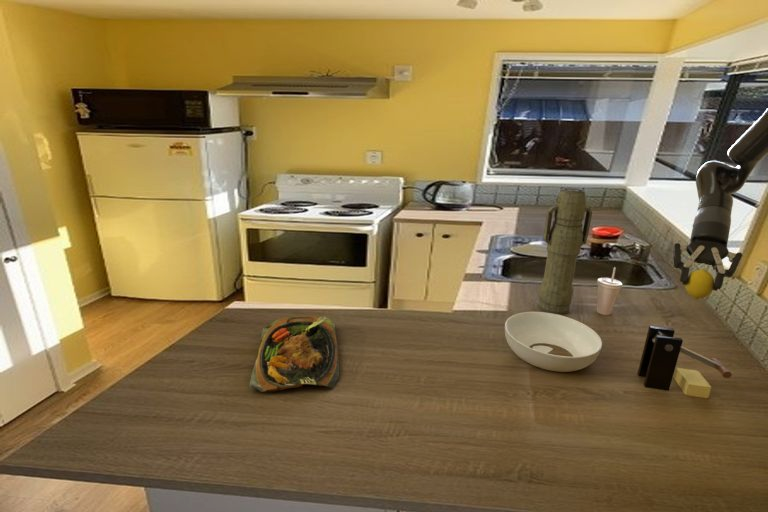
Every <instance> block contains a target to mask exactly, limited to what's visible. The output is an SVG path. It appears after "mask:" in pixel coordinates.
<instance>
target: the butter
mask: <svg viewBox="0 0 768 512" xmlns="http://www.w3.org/2000/svg"><path fill="white" fill-rule="evenodd" d="M673 379H674V381H675V383H676V384H677V385H678V387H679V388H680V389H681V391H682V392H683V393H684V395H686V396H691V397H697V398H703V399H709V396H710V393H711V391H712V385H710V384H709V382H708V380H706V378H704V376H703V375H702V374H701V372H700V371H699V370H697V369H690V368H682V367H675V371H674V374H673Z"/></svg>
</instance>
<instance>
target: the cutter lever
mask: <svg viewBox="0 0 768 512" xmlns="http://www.w3.org/2000/svg"><path fill="white" fill-rule="evenodd" d="M656 335H660V336H667V337H671V336H669V335H667V334H665V333H663V332H660V331H658V332H657V333H656ZM656 335H655V336H654V337H653V339H652V341H653V342H655V338H656ZM680 353H681V354H684V355H685V356H687V357H690V358H692V359H694V360H695V361H698V362H701V363H703V364H704V365H706V366H709V367H711V368H713V369H715V370H716V371H718V373H720V374H721V376H722V377H723V378H725V379H730V378H731V377H732V372H731V371H730V370H729V369H728V368H727V367H726V366H725V364H723V363H722V361H720V359H719V358H716V357H715V358H712V359H710V358H709V357H706V356H704V355H701V354H699V353H698V352H695V351H693V350H691V349H689V348H687V347H684V346H683V345H682V346H681V349H680Z"/></svg>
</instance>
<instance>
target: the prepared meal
mask: <svg viewBox="0 0 768 512" xmlns="http://www.w3.org/2000/svg"><path fill="white" fill-rule="evenodd" d="M260 336H261V337H260V341H259V346H258V349H257V355H256V358H255V362H254V365H253V368H252V372H251V376H250V379H249V384H248V389H256V390H258V391H259V392H260V393H271V392H272V393H274V392H280V391H283V390H286V389H293V388H300V387H302V386H303V385H313V386H321V387H322V386H323V387H327V388H330V389H333V388H334V386H335V384H336V383H337V381H338V380H339V377H340V361H339V349H338V340H337V331H336V325H335V322H333V321H331V319H330V318H329V317H327V316H297V317H296V316H295V317H293V316H291V317H280V318H278V319H276V320H274V321H272V322H270V323H269V324H268V325H267V326H266V327H265V328H264V327H263V328H262V331H261V335H260Z"/></svg>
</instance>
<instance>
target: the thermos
mask: <svg viewBox="0 0 768 512" xmlns="http://www.w3.org/2000/svg"><path fill="white" fill-rule="evenodd" d="M587 201H588V200H587V196H586V192H585V191H584V190H582V189H580V188H579V189H578V188H568V187H567V188H563V189H561V190H560V192H559V194H558V196H557V198H556V201H555V205H552V206H550V207H549V208H548V210H547V211H546V217H545V224H544V230H543V238H542V240H543V241H544V242H545V243H546V251H547V254H546V261H545V266H544V274H543V280H542V282H541V283H540V287H539V292H538V303H537V307H538V308H539V310H542V311H543V312H545V313H552V314H557V315H565V314H568V313H569V312H570V306H571V303H572V300H573V295H574V294H573V293H574V287H573V283H574V277H575V272H576V266H577V261H578V260H577V259H578V257H579V255H580V254H581V249H582V247H583V245H586V244H587V241H588V237H589V232H590V228H591V222H592V217H593V212H592V209H591V208H590V207H588V206H587V203H588V202H587ZM553 217H554V218H553ZM583 221H584V223H583Z"/></svg>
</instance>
